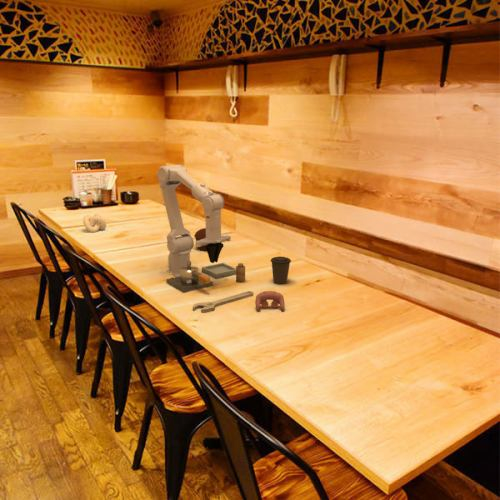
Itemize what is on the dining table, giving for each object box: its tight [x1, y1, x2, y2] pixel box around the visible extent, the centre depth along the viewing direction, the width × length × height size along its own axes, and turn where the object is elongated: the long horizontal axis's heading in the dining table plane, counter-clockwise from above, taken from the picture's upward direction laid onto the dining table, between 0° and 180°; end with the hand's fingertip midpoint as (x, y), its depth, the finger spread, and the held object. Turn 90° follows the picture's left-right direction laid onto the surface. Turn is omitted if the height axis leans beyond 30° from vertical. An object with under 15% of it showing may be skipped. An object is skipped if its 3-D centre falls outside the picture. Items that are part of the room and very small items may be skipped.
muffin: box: [193, 227, 207, 252], centre depth 228 cm, size 12×11×10 cm
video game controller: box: [254, 290, 285, 312], centre depth 160 cm, size 10×5×7 cm, turn 92°
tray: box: [201, 262, 236, 280], centre depth 195 cm, size 11×11×2 cm
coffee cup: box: [270, 255, 292, 285], centre depth 184 cm, size 8×8×10 cm
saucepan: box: [180, 260, 211, 284], centre depth 177 cm, size 16×7×7 cm, turn 38°
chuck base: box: [166, 276, 214, 293], centre depth 182 cm, size 13×13×2 cm
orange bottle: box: [235, 262, 246, 284], centre depth 185 cm, size 4×4×7 cm
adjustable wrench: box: [192, 290, 254, 314], centre depth 165 cm, size 25×6×2 cm, turn 126°
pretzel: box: [82, 213, 107, 233], centre depth 260 cm, size 11×12×9 cm
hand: (213, 261), depth 179 cm, fingers closed
